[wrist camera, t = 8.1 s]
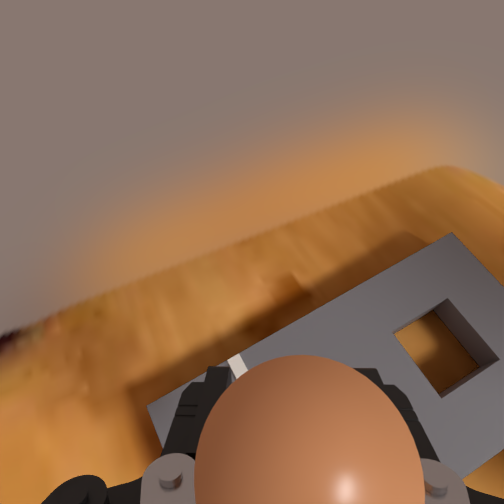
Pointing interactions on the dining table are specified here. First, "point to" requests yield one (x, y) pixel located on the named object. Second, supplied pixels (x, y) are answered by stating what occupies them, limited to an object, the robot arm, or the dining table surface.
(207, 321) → the dining table surface
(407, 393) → the grey peg board
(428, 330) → the dining table surface
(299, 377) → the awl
